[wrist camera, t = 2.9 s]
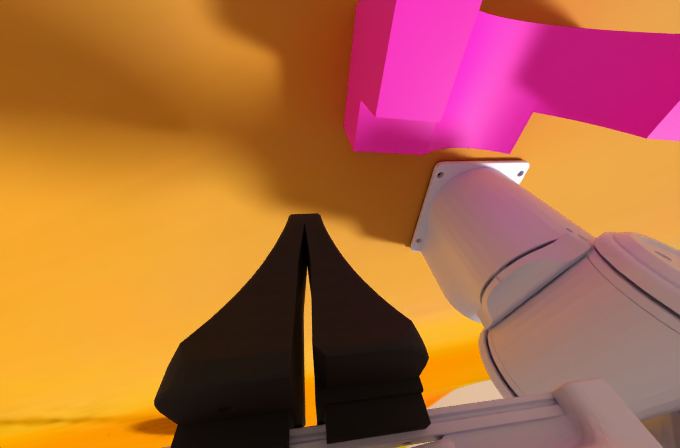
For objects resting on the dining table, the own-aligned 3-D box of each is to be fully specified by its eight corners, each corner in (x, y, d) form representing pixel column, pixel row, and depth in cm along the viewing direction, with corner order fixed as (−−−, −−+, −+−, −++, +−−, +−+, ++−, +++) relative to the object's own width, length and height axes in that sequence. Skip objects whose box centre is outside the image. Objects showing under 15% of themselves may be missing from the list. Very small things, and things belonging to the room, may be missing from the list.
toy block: (343, 126, 16) (364, 176, 11) (355, 3, 13) (400, -23, 7) (531, 139, 19) (634, 187, 13) (591, 38, 15) (776, 42, 9)
